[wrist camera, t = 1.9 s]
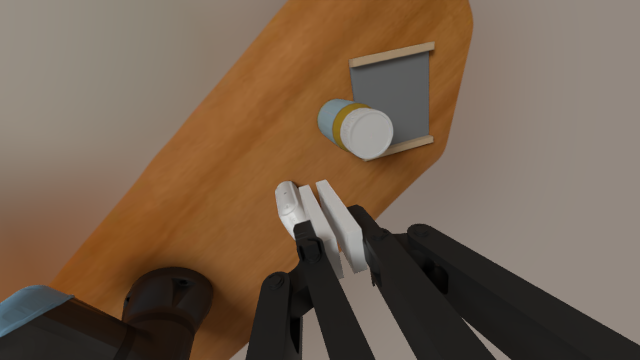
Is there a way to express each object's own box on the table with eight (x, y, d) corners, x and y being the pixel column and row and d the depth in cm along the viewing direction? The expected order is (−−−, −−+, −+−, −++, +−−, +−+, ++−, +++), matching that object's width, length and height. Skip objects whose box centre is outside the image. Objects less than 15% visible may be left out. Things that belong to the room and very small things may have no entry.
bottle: (342, 143, 45) (379, 169, 32) (309, 128, 42) (335, 150, 29) (359, 108, 43) (406, 121, 30) (326, 91, 41) (361, 96, 27)
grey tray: (361, 158, 47) (364, 161, 46) (348, 59, 40) (352, 58, 38) (427, 140, 49) (433, 142, 48) (427, 42, 42) (434, 41, 40)
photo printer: (271, 188, 45) (276, 222, 34) (290, 176, 45) (301, 206, 34) (298, 224, 49) (311, 265, 38) (316, 213, 49) (333, 251, 38)
